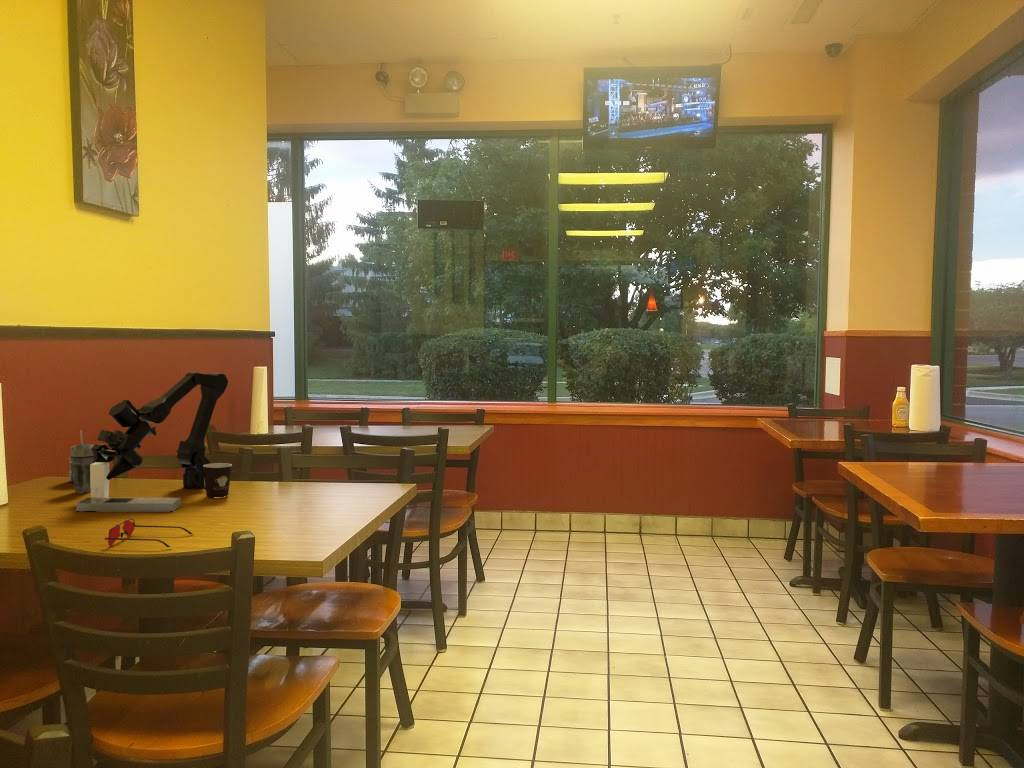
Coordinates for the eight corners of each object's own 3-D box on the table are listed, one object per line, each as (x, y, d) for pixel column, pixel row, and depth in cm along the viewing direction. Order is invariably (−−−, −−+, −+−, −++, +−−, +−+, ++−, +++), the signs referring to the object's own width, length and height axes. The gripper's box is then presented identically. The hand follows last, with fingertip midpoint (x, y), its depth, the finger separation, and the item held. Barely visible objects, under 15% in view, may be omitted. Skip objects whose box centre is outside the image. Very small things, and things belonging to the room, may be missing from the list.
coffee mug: (232, 493, 258) (232, 462, 257) (231, 498, 250) (231, 467, 249) (193, 494, 254) (193, 463, 253) (191, 500, 246) (191, 468, 245)
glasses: (130, 535, 204) (130, 515, 204) (195, 536, 204) (195, 517, 204) (103, 549, 190) (103, 528, 190) (172, 551, 190) (173, 530, 190)
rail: (180, 506, 237) (180, 497, 237) (172, 512, 229) (172, 503, 229) (87, 506, 234) (87, 497, 233) (76, 512, 226) (76, 503, 226)
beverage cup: (101, 490, 256) (101, 428, 255) (86, 494, 249) (86, 431, 248) (79, 489, 257) (79, 427, 256) (65, 493, 250) (64, 430, 249)
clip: (109, 501, 240) (109, 462, 239) (104, 504, 236) (104, 464, 235) (95, 501, 240) (95, 462, 239) (90, 504, 236) (90, 464, 235)
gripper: (97, 417, 245) (61, 457, 237) (134, 422, 236) (98, 463, 227) (121, 440, 253) (87, 479, 244) (157, 446, 243) (123, 487, 234)
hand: (98, 477), depth 237 cm, fingers open, 9 cm apart
